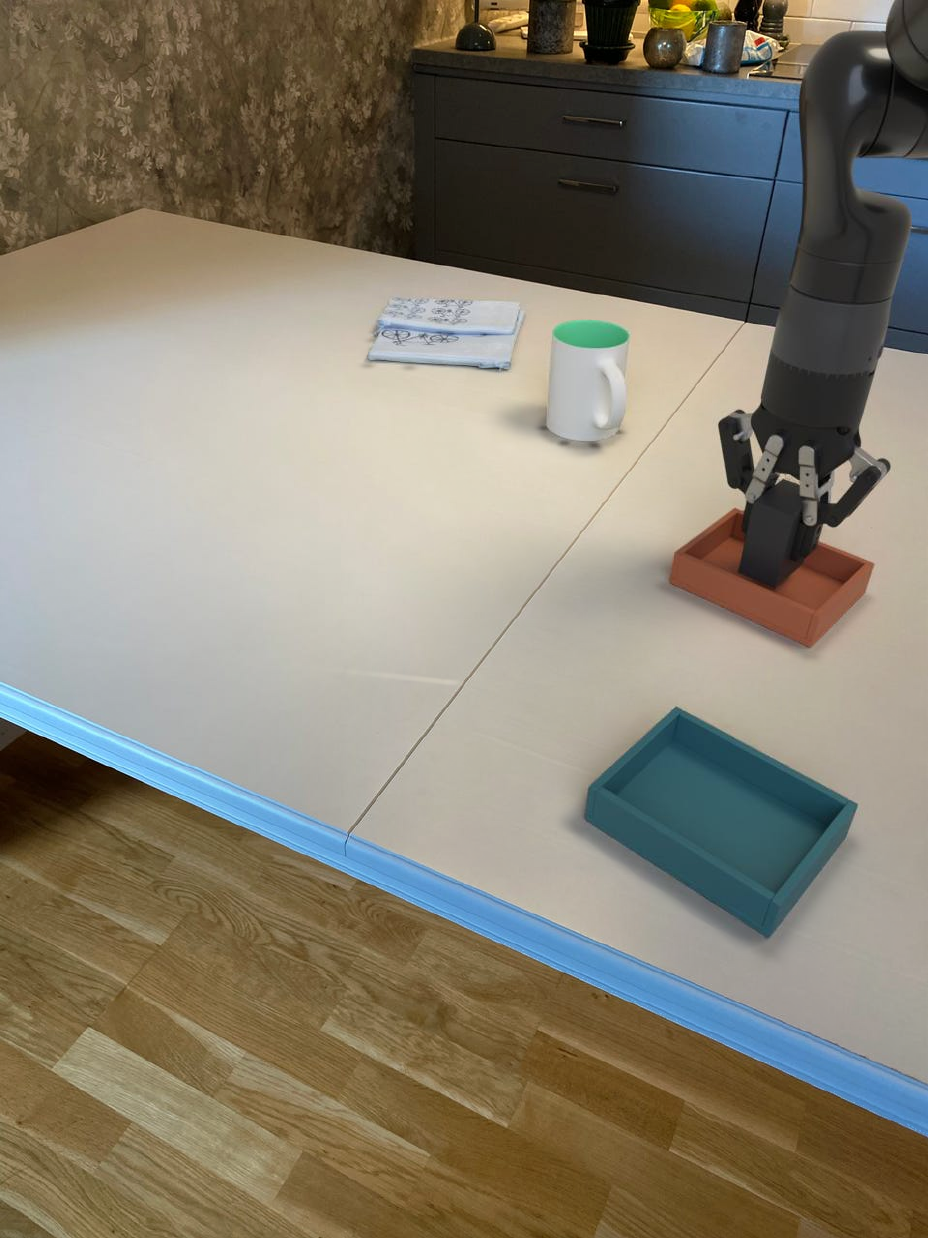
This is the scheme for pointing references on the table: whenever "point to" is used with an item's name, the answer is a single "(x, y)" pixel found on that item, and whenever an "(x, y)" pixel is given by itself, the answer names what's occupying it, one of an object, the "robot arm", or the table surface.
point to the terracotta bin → (787, 609)
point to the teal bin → (721, 817)
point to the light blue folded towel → (448, 332)
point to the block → (772, 535)
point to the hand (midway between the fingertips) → (776, 546)
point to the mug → (587, 380)
